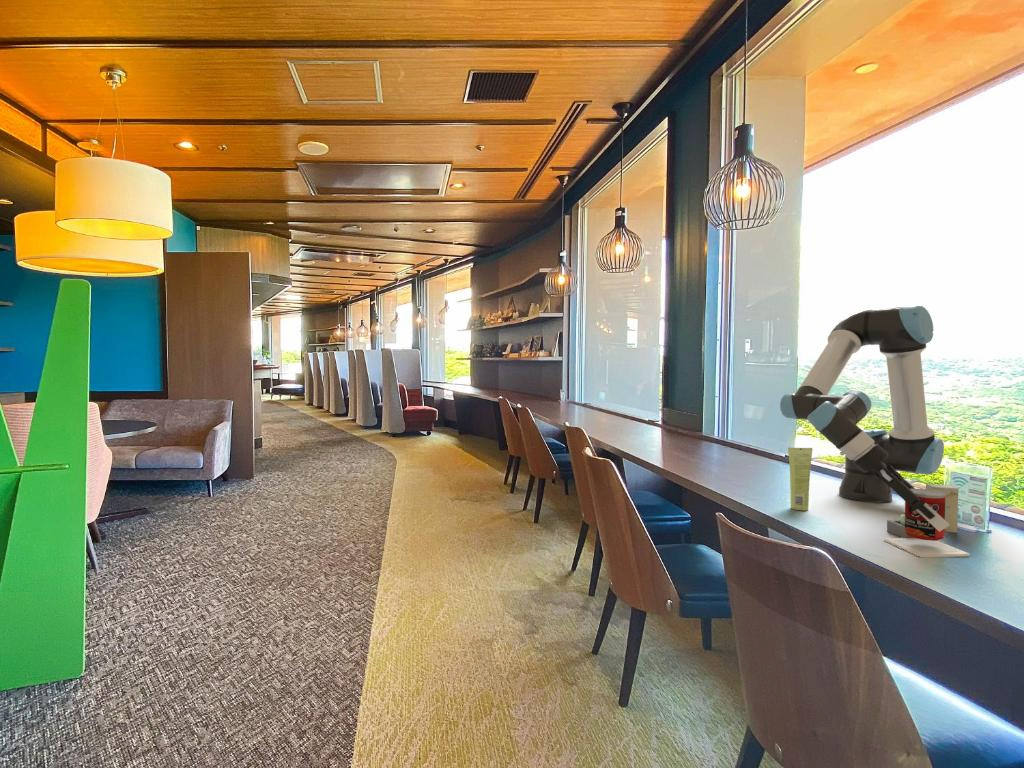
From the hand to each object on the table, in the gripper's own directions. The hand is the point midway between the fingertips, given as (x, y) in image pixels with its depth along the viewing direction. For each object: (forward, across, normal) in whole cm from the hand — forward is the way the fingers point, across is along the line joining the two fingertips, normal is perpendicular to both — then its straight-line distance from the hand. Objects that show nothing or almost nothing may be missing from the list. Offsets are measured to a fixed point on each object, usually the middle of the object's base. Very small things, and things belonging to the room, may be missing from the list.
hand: (942, 523), depth 130 cm
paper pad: (+2, 0, -7) cm, 7 cm away
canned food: (0, 0, -5) cm, 5 cm away
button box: (+1, -11, -9) cm, 14 cm away
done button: (-1, -11, -7) cm, 13 cm away
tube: (-18, -25, -28) cm, 42 cm away
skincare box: (+6, -21, -4) cm, 22 cm away
